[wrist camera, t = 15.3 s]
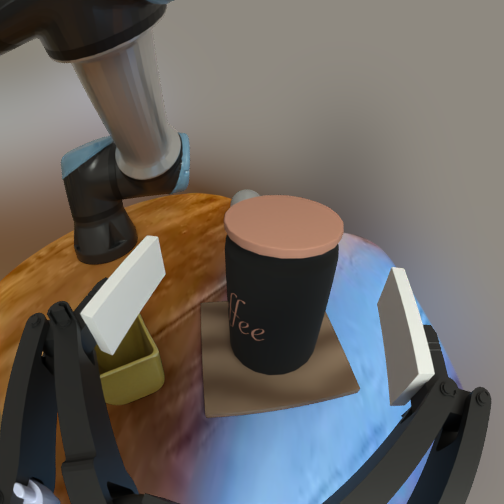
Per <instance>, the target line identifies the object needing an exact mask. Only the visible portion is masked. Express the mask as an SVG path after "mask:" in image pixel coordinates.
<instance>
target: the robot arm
mask: <svg viewBox="0 0 504 504" xmlns="http://www.w3.org/2000/svg"><path fill="white" fill-rule="evenodd" d="M171 1H174V0H0V55H3V54H5V53H7V52H9V51H11V50H13V49H15V48H17V47H19V46H21V45H22V44H25V43H27V42H29V41H31V40H33V39H36V38H38V39H40V41H41V42H42V44H43V46H44V48H45V50H46V52H47V53H48V55H49V57H50V58H51V59H52V60H54V61H56V62H59V63H71V64H72V66H73V68H74V70H75V72H76V74H77V76H78V78H79V79H80V81H81V83H82V85H83V87H84V89H85V91H86V93H87V95H88V97H89V98H90V100H91V102H92V104H93V106H94V108H95V109H96V111H97V113H98V115H99V117H100V118H101V120H102V122H103V124H104V125H105V127H106V129H107V131H108V132H109V134H110V136H108V137H103V138H100V139H97V140H94V141H91V142H89V143H86V144H84V145H82V146H79V147H77V148H75V149H73V150H71V151H69V152H68V153H66V154H65V155H64V156H63V157H62V160H61V169H62V179H63V180H64V185H65V190H66V194H67V198H68V202H69V205H70V209H71V213H72V217H73V220H74V249H75V252H76V255H77V258H78V259H79V260H80V261H81V262H83V263H86V264H102V263H106V262H110V261H113V260H115V259H118V258H120V257H121V256H123V255H125V254H126V253H128V252H129V251H130V250H131V249H132V248H133V247H134V246H135V244H136V243H137V233H136V229H135V226H134V224H133V223H132V221H131V219H130V218H129V216H128V214H127V213H126V211H125V209H124V207H123V203H122V199H129V198H136V197H144V196H153V195H161V194H173V193H177V192H182V191H184V190H186V188H187V186H188V183H189V167H190V147H189V138H188V136H187V134H185V133H179V132H177V131H176V130H175V129H174V127H172V126H171V125H170V124H168V122H167V117H166V112H165V106H164V101H163V95H162V90H161V84H160V78H159V72H158V65H157V59H156V53H155V45H154V38H153V30H152V28H153V27H155V26H156V25H157V24H158V23H159V22H160V21H161V20H162V18H163V17H164V15H165V13H166V9H167V4H168V3H169V2H171ZM164 276H165V269H164V265H163V260H162V255H161V250H160V245H159V239H158V237H155V236H146V237H145V238H144V239H143V240H142V242H141V243H140V244H139V245H138V246H137V247H136V248H135V249H134V250H133V251H132V252H131V254H130V255H129V256H128V257H127V258H126V259H125V260H124V261H123V262H122V264H121V265H120V266H119V267H118V268H117V269H116V270H115V272H114V273H113V274H112V275H111V276H110V277H109V278H104V279H102V280H101V281H99V282H98V283H97V284H96V285H95V286H94V288H93V289H92V291H90V292H89V293H88V296H86V297H85V298H84V299H83V301H82V302H81V303H80V304H79V306H78V307H77V308H76V309H75V311H74V312H73V311H72V309H71V307H70V305H69V304H68V303H67V302H65V301H60V302H57V303H55V304H53V305H52V306H51V307H50V308H49V310H48V313H47V315H48V317H49V318H50V320H47V319H46V317H45V316H44V314H42V313H36V314H34V315H32V316H31V317H30V318H29V319H28V321H27V323H26V325H25V328H24V331H23V334H22V337H21V340H20V343H19V346H18V350H17V353H16V356H15V360H14V364H13V367H12V371H11V375H10V379H9V384H8V388H7V393H6V398H5V403H4V409H3V415H2V422H1V430H0V504H60V501H59V499H58V498H57V497H55V496H54V494H53V493H54V488H55V471H56V469H55V446H56V424H57V412H58V417H59V424H60V430H61V436H62V441H63V446H64V451H65V456H66V460H65V461H64V462H63V463H62V466H61V469H62V475H63V478H64V482H65V486H66V489H67V493H68V496H69V499H70V502H71V504H179V503H176V502H173V501H170V500H167V499H165V498H161V497H157V496H153V495H150V494H146V493H145V494H139V493H138V490H137V488H136V486H135V484H134V481H133V480H132V478H131V477H130V475H129V474H128V473H127V471H126V470H125V467H124V465H123V462H122V459H121V456H120V453H119V450H118V447H117V444H116V440H115V437H114V434H113V430H112V427H111V423H110V419H109V415H108V411H107V407H106V403H105V398H104V394H103V389H102V384H101V379H100V374H99V368H98V362H97V355H96V351H95V349H94V348H95V346H96V345H97V344H98V346H99V348H100V349H101V351H103V352H106V353H108V354H111V355H113V354H114V352H115V351H116V349H117V348H118V346H119V344H120V343H121V341H122V339H123V338H124V336H125V335H126V333H127V332H128V330H129V328H130V327H131V325H132V324H133V322H134V321H135V319H136V317H137V316H138V314H139V313H140V311H141V310H142V308H143V307H144V305H145V304H146V302H147V301H148V299H149V298H150V296H151V295H152V293H153V292H154V290H155V289H156V287H157V286H158V284H159V283H160V281H161V280H162V278H163V277H164ZM377 306H378V311H379V317H380V323H381V329H382V335H383V342H384V349H385V357H386V365H387V375H388V385H389V397H390V406H401V405H405V404H407V403H408V402H409V401H410V400H411V407H410V408H409V409H408V410H407V411H406V412H405V413H404V414H403V415H402V417H403V418H402V419H401V420H400V422H399V423H398V424H397V426H396V427H395V428H394V430H393V431H392V432H391V433H390V435H389V436H388V437H387V438H386V439H385V441H384V442H383V443H382V444H381V445H380V447H379V448H378V449H377V450H376V451H375V452H374V454H373V455H372V456H371V457H370V458H369V459H368V460H367V461H366V462H365V463H364V465H363V466H362V467H361V468H360V469H359V470H358V471H357V472H356V473H355V474H354V475H353V476H352V477H351V478H350V479H349V480H348V481H347V482H346V483H345V484H344V485H343V486H341V487H340V488H339V489H338V490H337V491H336V492H335V493H334V494H333V495H332V496H330V497H329V498H328V499H327V500H326V501H325V502H323V503H322V504H387V503H388V502H389V500H390V499H391V498H392V497H393V496H394V495H395V493H396V492H397V491H398V490H399V489H400V487H401V486H402V485H403V484H404V482H405V481H406V480H407V479H408V477H409V476H410V475H411V473H412V472H413V471H414V469H415V468H416V466H417V465H418V464H419V462H420V461H421V459H422V458H423V456H424V455H425V453H426V452H427V450H428V449H429V447H430V446H431V444H432V443H433V441H434V443H433V446H432V449H431V451H430V454H429V457H428V459H427V462H426V464H425V466H424V469H423V471H422V473H421V476H420V478H419V480H418V482H417V484H416V486H415V489H414V491H413V493H412V495H411V497H410V498H409V500H408V502H407V504H465V502H466V500H467V497H468V495H469V492H470V489H471V487H472V484H473V481H474V478H475V475H476V472H477V468H478V465H479V461H480V458H481V454H482V450H483V446H484V441H485V437H486V432H487V427H488V421H489V415H490V409H491V397H490V394H489V392H488V391H487V390H486V389H485V388H483V387H478V388H475V390H473V391H472V392H468V391H465V390H461V389H459V388H458V387H457V384H456V383H455V382H454V381H453V380H452V379H451V378H449V377H448V375H447V370H446V366H445V362H444V358H443V355H442V351H441V347H440V344H439V340H438V337H437V333H436V332H435V330H434V329H433V328H432V326H431V325H423V324H422V321H421V317H420V314H419V311H418V308H417V305H416V301H415V298H414V295H413V292H412V289H411V287H410V284H409V281H408V278H407V275H406V273H405V270H404V269H403V268H395V267H392V268H391V271H390V273H389V276H388V279H387V281H386V284H385V286H384V289H383V291H382V294H381V296H380V299H379V301H378V304H377ZM42 351H43V352H44V353H43V356H41V355H42ZM434 439H435V440H434Z"/></svg>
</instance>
